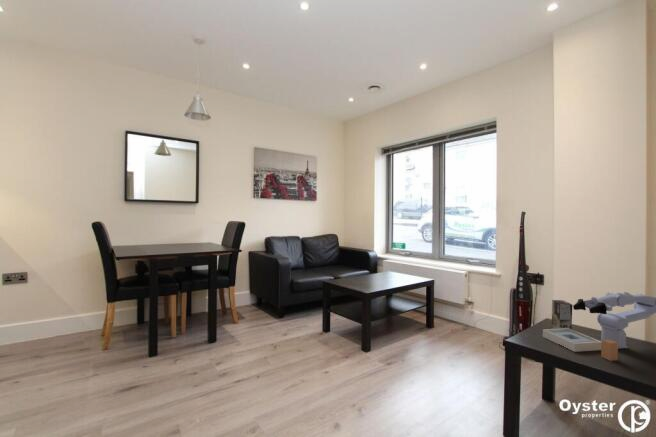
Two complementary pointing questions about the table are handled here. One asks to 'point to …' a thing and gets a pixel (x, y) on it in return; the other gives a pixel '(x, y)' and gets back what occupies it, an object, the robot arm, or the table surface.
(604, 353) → the peg
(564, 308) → the coffee box
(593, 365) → the table surface
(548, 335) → the tray
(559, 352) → the table surface
